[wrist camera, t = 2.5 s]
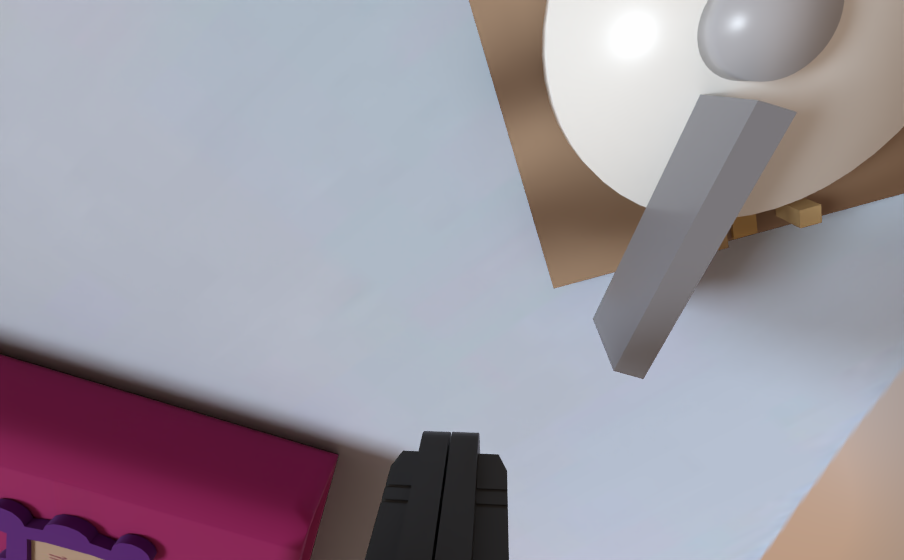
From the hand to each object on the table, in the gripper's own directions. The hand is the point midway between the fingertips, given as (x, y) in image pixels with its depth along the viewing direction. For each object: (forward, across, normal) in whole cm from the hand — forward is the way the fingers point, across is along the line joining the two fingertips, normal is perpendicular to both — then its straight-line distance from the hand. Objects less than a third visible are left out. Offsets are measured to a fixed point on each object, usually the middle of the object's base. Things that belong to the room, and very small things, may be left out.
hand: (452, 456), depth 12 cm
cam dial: (+12, -9, -8) cm, 17 cm away
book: (+14, +26, +18) cm, 35 cm away
